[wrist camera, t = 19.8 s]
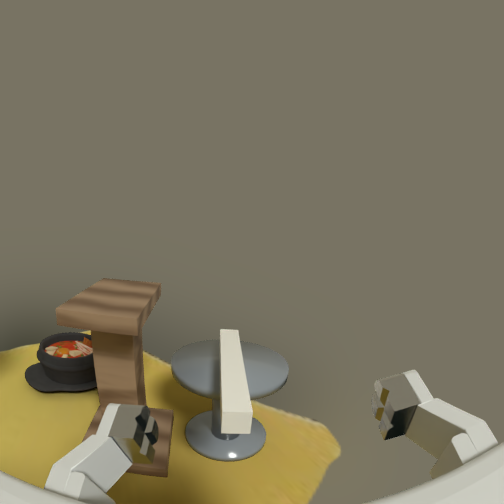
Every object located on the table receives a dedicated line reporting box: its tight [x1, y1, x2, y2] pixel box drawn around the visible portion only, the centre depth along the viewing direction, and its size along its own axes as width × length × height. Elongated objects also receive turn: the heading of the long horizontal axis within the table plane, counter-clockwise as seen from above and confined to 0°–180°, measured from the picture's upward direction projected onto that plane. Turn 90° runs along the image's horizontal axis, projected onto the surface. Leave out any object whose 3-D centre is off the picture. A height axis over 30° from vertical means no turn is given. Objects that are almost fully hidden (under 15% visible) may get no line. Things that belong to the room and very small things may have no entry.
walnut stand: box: [56, 278, 174, 477], centre depth 39 cm, size 18×14×26 cm
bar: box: [219, 329, 253, 434], centre depth 39 cm, size 24×3×3 cm, turn 6°
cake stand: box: [171, 340, 289, 461], centre depth 45 cm, size 18×18×16 cm
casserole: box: [25, 332, 97, 392], centre depth 56 cm, size 25×19×8 cm
